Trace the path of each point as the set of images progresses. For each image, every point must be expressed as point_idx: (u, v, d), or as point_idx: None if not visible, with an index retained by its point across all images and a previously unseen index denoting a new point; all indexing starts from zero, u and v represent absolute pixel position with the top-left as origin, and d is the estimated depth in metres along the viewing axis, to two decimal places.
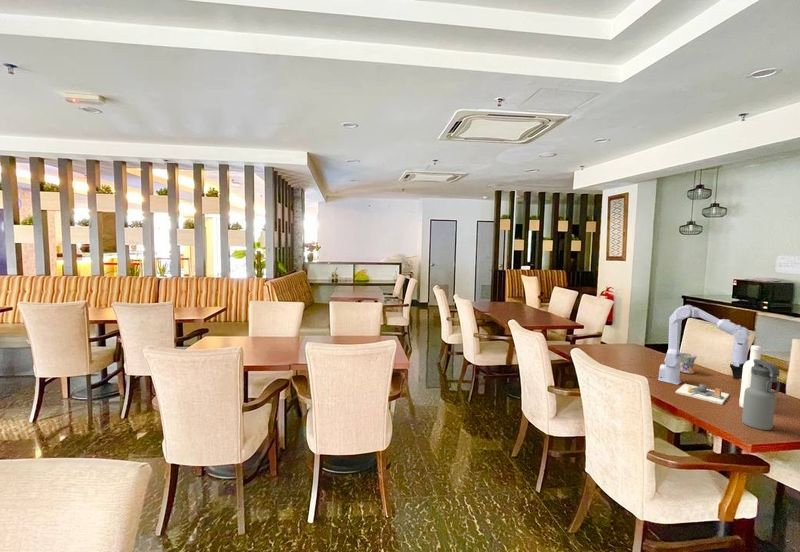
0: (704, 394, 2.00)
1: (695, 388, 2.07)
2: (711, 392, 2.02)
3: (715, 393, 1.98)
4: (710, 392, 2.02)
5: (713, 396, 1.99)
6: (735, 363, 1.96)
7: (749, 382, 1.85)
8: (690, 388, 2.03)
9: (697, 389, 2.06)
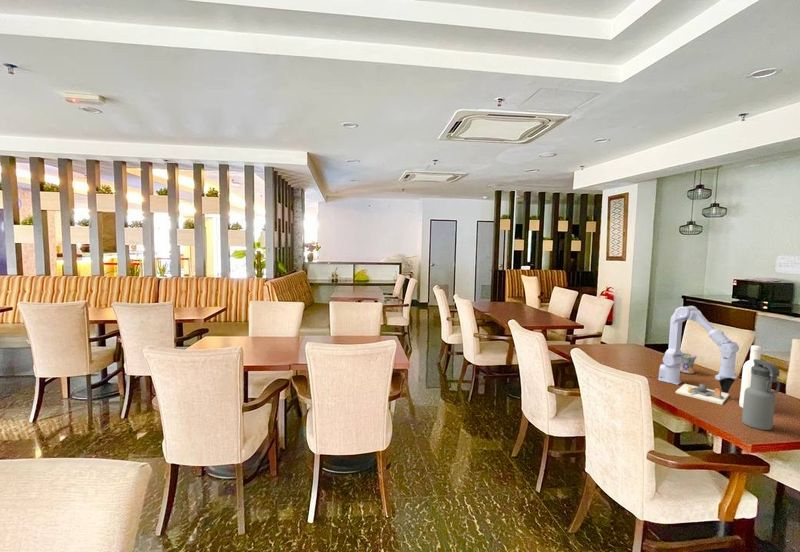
0: (704, 394, 2.00)
1: (695, 388, 2.07)
2: (711, 392, 2.02)
3: (715, 393, 1.98)
4: (710, 392, 2.02)
5: (713, 396, 1.99)
6: (716, 376, 1.97)
7: (749, 382, 1.85)
8: (690, 388, 2.03)
9: (697, 389, 2.06)
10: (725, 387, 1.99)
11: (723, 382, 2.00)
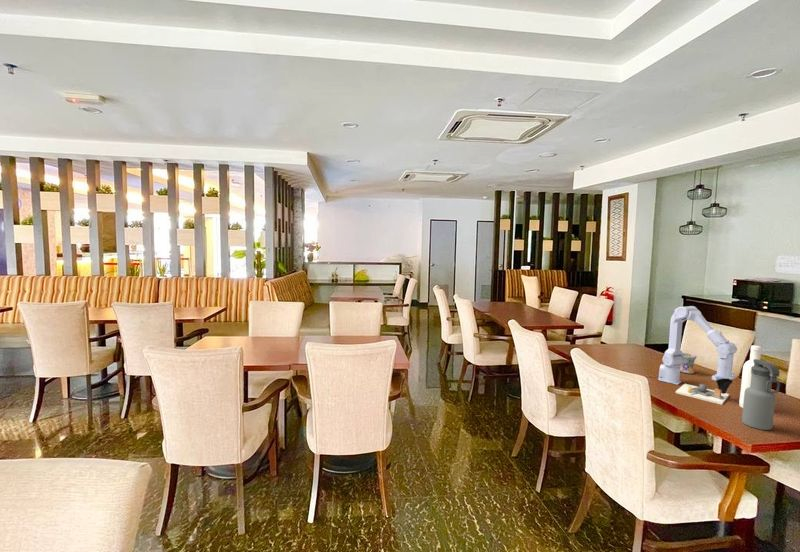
0: (704, 394, 2.00)
1: (695, 388, 2.07)
2: (711, 392, 2.02)
3: (715, 393, 1.98)
4: (710, 392, 2.02)
5: (713, 396, 1.99)
6: (712, 377, 1.97)
7: (749, 382, 1.85)
8: (690, 388, 2.03)
9: (697, 389, 2.06)
10: (722, 388, 1.98)
11: (720, 383, 1.99)
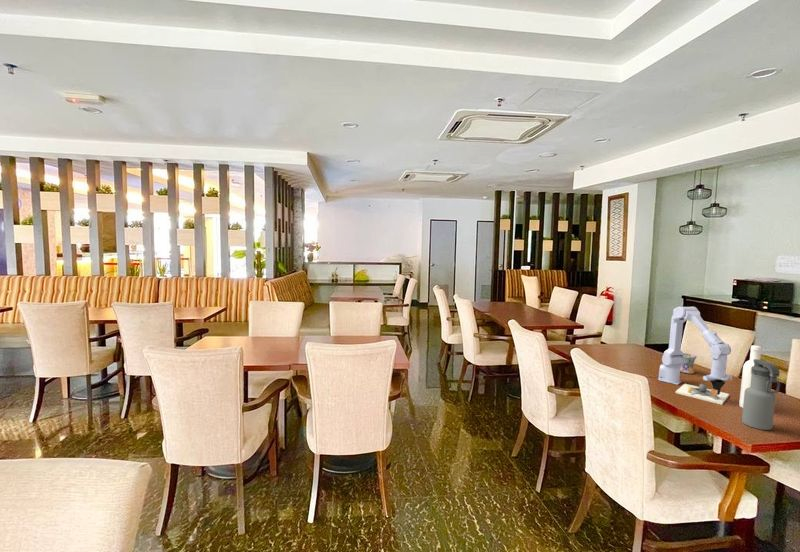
0: (700, 393, 2.01)
1: (696, 388, 2.07)
2: (710, 392, 2.01)
3: (711, 393, 1.98)
4: (709, 392, 2.01)
5: None
6: (704, 377, 1.96)
7: (749, 382, 1.85)
8: (690, 388, 2.03)
9: (698, 389, 2.07)
10: (717, 389, 1.97)
11: (715, 384, 1.98)
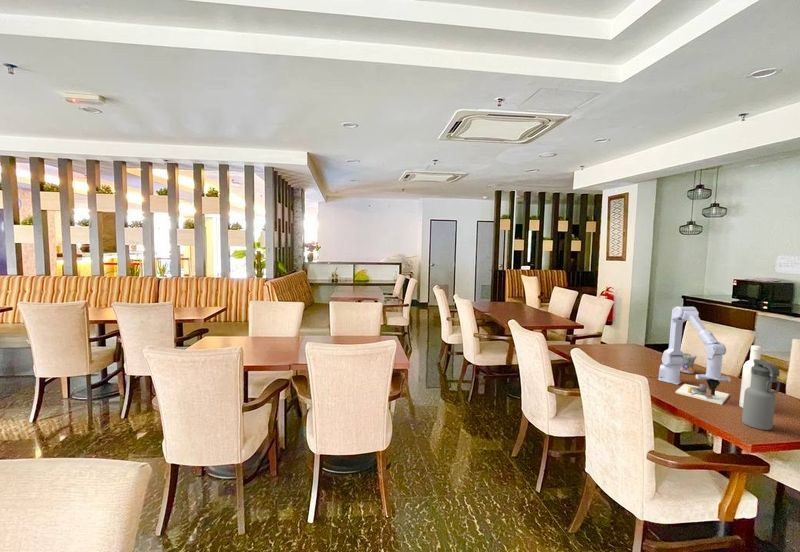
0: (695, 392, 2.02)
1: (698, 388, 2.07)
2: None
3: (706, 393, 1.98)
4: None
5: (704, 395, 1.99)
6: (696, 375, 1.98)
7: (749, 382, 1.85)
8: (690, 388, 2.03)
9: None
10: None
11: (711, 384, 1.98)
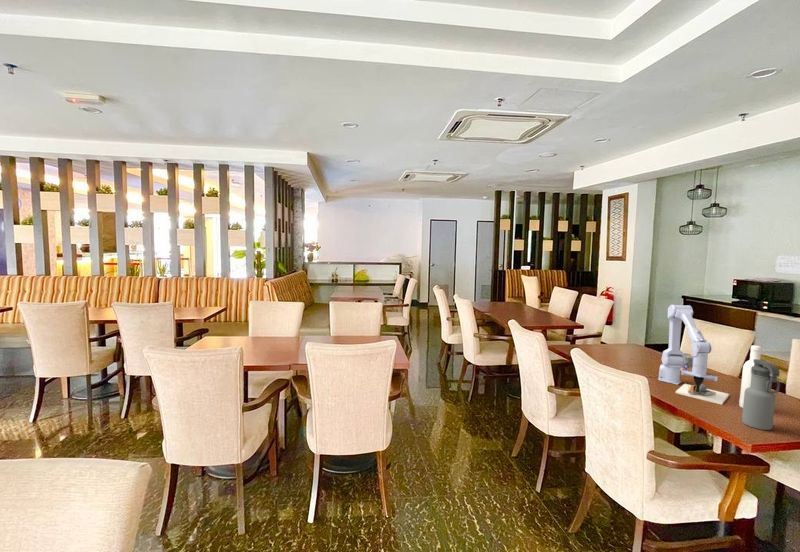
0: None
1: None
2: (701, 392, 2.02)
3: None
4: (700, 391, 2.02)
5: None
6: (681, 371, 2.04)
7: (749, 382, 1.85)
8: (690, 388, 2.03)
9: None
10: (697, 386, 1.99)
11: None
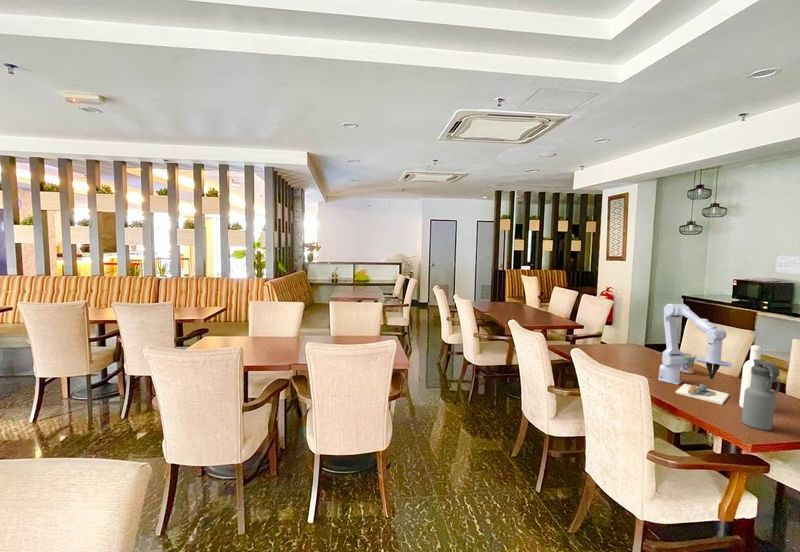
0: None
1: None
2: (701, 392, 2.02)
3: None
4: (700, 391, 2.02)
5: None
6: (695, 358, 2.04)
7: (749, 382, 1.85)
8: (690, 388, 2.03)
9: None
10: None
11: None
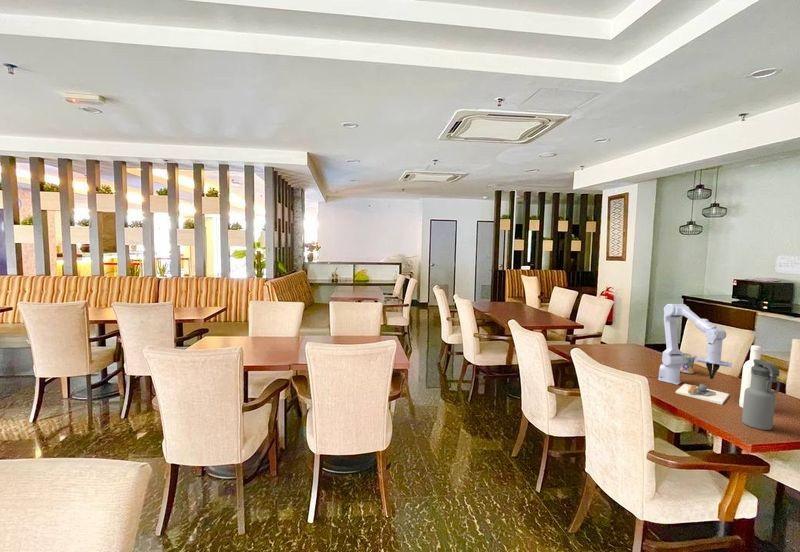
0: None
1: None
2: (701, 392, 2.02)
3: None
4: (700, 391, 2.02)
5: None
6: (695, 358, 2.04)
7: (749, 382, 1.85)
8: (690, 388, 2.03)
9: None
10: None
11: None
